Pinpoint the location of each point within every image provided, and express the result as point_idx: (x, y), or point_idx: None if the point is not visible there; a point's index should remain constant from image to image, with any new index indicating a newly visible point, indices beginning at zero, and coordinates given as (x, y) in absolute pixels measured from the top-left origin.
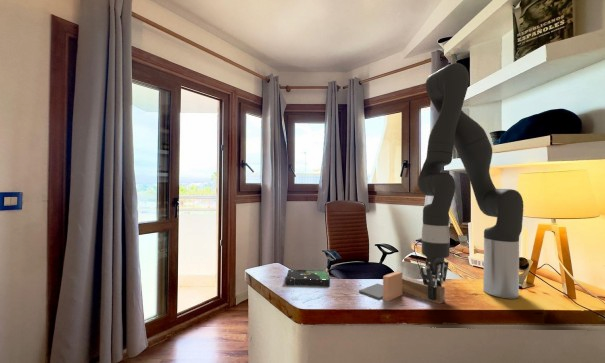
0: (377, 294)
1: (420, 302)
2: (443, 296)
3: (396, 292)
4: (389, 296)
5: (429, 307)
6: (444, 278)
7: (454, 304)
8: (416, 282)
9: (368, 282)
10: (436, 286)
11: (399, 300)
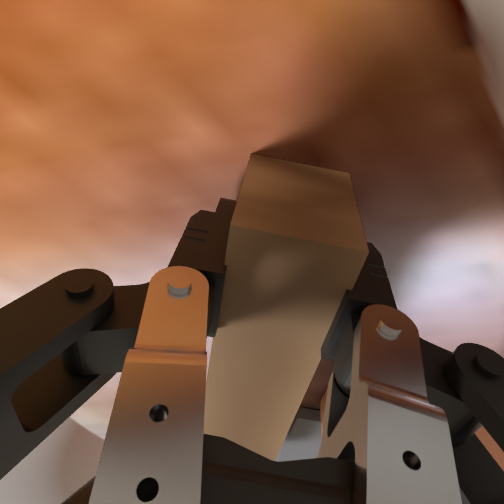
0: None
1: (409, 291)
2: (270, 180)
3: None
4: (486, 437)
5: (494, 225)
6: (84, 301)
7: (275, 48)
8: (277, 422)
9: None
10: (264, 298)
11: None
